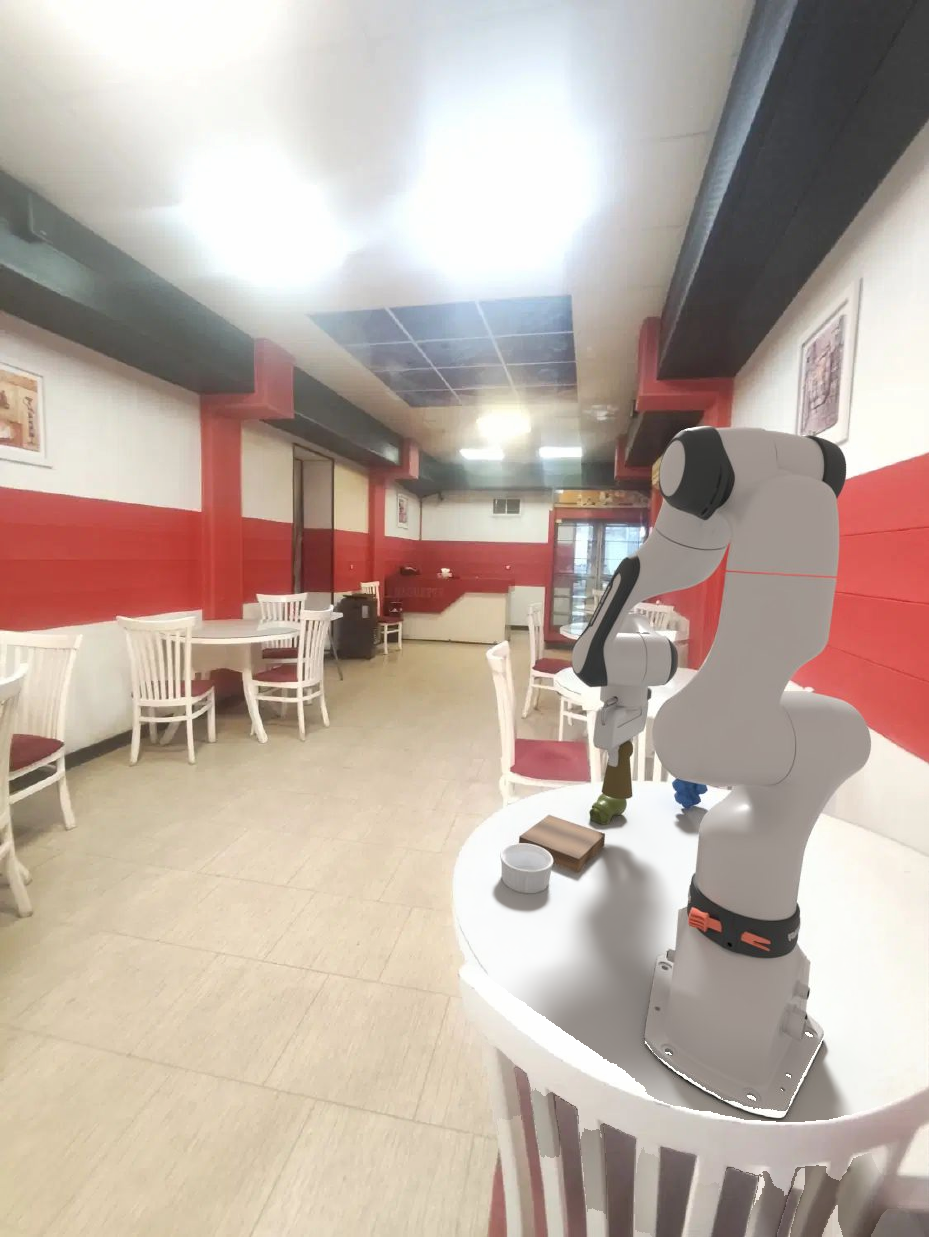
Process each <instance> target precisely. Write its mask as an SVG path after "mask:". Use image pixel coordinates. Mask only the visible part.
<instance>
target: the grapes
mask: <svg viewBox="0 0 929 1237" xmlns="http://www.w3.org/2000/svg"><path fill="white" fill-rule="evenodd" d="M707 786H708V785H703V784H697V783H693V782H688V781H684V780H679V779H677V778H676V779H674V780H673V781H672V782H671V787H672V788H673V790H674V791H675V793H674V796H673V797H674V799H675V802H676V803H677V804H679V805H681V806H682V808H684V809H685V810H690V809H691V808H692V809H693V807H694V806H697V805H699V804H700V803H701V802H702V799H701V796H700V795H704V794H706V793H707V792H708V787H707Z"/></svg>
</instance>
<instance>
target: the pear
mask: <svg viewBox="0 0 929 1237" xmlns="http://www.w3.org/2000/svg"><path fill="white" fill-rule="evenodd" d="M627 805H628V804H627V799H616V798H611V797H608V796H606V795H604V794H603V793H602V792H601V794H600V795H599V796H598V798H597V799H596V801H595V802H594V803H593V804H592V805H591V809H590V810H589V811H588V812H589V818H590V820H591V821H594V822H595V823H598V824H600V825H605V824H608V823H610V821H611V819H612V816H615V817H617V816H621V815H622V814H624V813H625V811H626V810H627Z"/></svg>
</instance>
